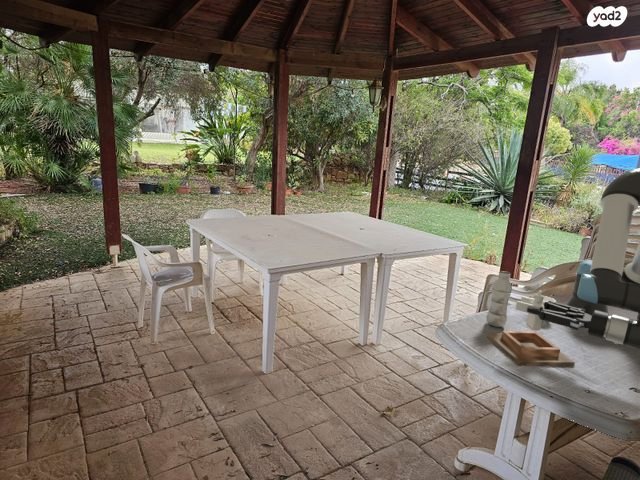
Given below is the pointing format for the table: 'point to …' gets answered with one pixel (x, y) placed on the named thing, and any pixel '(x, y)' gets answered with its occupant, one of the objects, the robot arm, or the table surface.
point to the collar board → (529, 349)
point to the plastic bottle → (499, 300)
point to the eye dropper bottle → (535, 320)
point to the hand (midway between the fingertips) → (519, 302)
